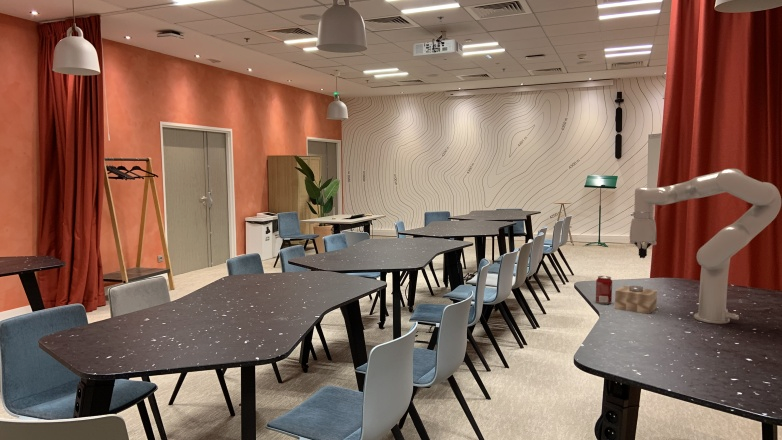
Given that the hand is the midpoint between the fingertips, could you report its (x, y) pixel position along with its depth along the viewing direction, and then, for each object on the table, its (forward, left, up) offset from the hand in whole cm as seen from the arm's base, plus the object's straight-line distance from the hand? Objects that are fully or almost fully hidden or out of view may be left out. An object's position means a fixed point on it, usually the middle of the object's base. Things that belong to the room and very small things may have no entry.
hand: (642, 257), depth 236 cm
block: (+1, +2, -23) cm, 23 cm away
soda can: (+16, +1, -23) cm, 28 cm away
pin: (+2, +2, -22) cm, 22 cm away
